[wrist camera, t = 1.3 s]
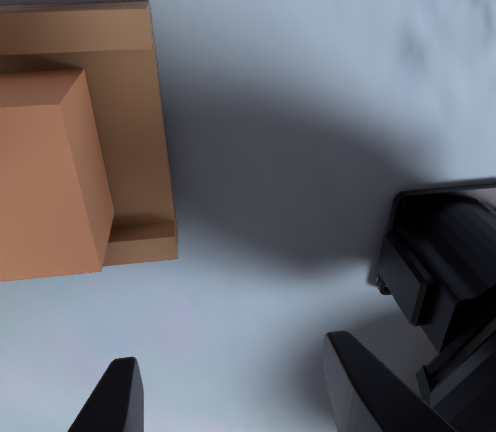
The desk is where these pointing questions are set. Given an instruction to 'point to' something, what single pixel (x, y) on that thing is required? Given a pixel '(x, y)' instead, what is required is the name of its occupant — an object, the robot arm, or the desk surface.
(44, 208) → the block
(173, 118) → the desk surface
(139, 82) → the channel
